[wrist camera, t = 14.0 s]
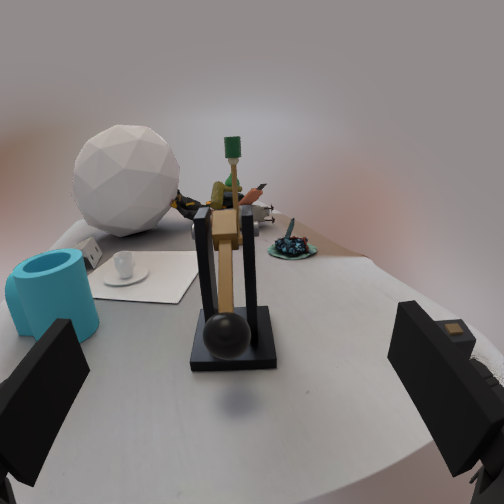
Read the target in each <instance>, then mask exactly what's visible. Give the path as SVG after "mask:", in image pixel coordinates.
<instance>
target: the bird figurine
mask: <svg viewBox="0 0 504 504" xmlns="http://www.w3.org/2000/svg"><path fill="white" fill-rule="evenodd" d="M237 189H238V192H241V191H242V187H240V186H239V180H238V179H237ZM224 192H232V175H231V174H230V176H229V178H228V179H227V180H226V182H225V185H224V184H223V183H221V182H219V181H218V182H215V183H214V185H213V190H212V196H211V203H210V207H211V208H212V209H215V210H219V209H221V208H222V205H223V204H222V203H223V195H224Z"/></svg>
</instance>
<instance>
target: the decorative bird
mask: <svg viewBox="0 0 504 504" xmlns="http://www.w3.org/2000/svg"><path fill="white" fill-rule="evenodd" d="M238 208H239V226H240V229H242V223H241V206H238ZM269 209H272V210H273V207H272V206H271V208H268V207H260V206H257V205H252V211H253V221H258V222H259V223H260V222H265V221H273V222H274V218H273V216H272V219H273V220H265V219H264V218H265V217H266V216H269V214H270V211H269ZM231 210H233V208H232V209H231ZM272 210H271V212H272ZM210 218H211V228H212V214H210ZM273 222H272V224H273Z"/></svg>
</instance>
